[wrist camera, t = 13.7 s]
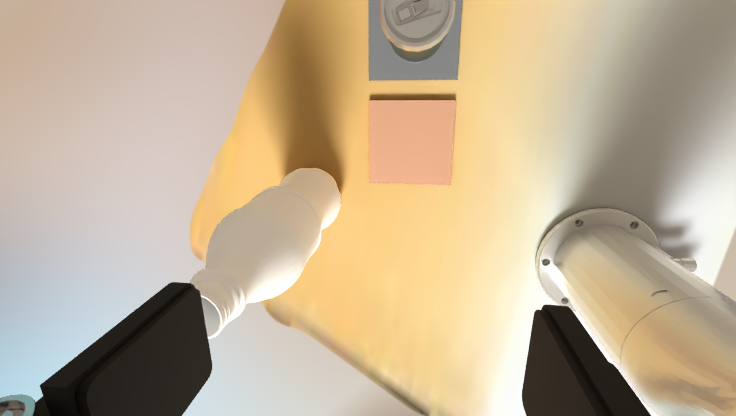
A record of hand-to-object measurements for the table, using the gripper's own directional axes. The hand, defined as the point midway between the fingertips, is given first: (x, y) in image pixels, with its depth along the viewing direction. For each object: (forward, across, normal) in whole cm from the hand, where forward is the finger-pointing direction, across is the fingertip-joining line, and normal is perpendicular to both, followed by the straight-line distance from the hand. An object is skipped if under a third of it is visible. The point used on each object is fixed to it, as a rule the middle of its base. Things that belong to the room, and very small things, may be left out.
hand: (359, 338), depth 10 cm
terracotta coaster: (+32, -1, -1) cm, 32 cm away
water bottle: (+32, +10, +5) cm, 34 cm away
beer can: (+32, -1, -12) cm, 34 cm away
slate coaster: (+32, -1, -12) cm, 34 cm away
